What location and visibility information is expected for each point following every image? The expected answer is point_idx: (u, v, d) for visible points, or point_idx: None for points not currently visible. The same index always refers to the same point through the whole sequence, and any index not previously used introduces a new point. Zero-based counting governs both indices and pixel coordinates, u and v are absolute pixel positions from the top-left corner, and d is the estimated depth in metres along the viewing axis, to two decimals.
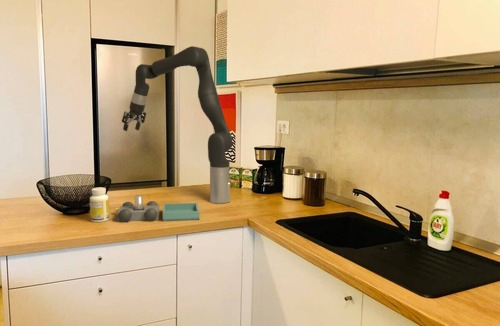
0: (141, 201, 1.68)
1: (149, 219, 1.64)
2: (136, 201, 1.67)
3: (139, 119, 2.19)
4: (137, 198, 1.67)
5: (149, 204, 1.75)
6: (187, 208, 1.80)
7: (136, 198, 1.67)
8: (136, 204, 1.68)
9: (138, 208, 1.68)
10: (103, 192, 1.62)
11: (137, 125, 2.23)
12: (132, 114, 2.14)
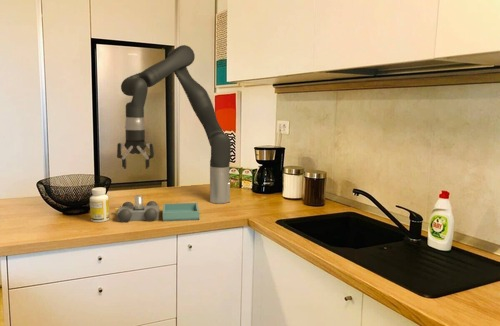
0: (141, 201, 1.68)
1: (149, 219, 1.64)
2: (136, 201, 1.67)
3: None
4: (137, 198, 1.67)
5: (149, 204, 1.75)
6: (187, 208, 1.80)
7: (136, 198, 1.67)
8: (136, 204, 1.68)
9: (138, 208, 1.68)
10: (103, 192, 1.62)
11: (125, 162, 1.67)
12: None
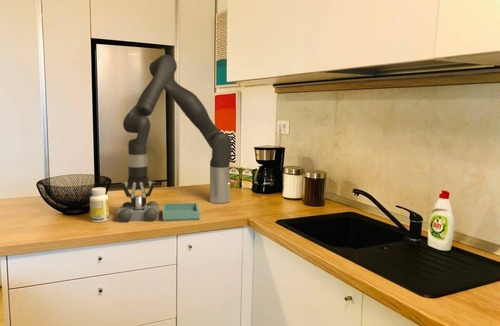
0: (141, 201, 1.68)
1: (149, 219, 1.64)
2: (136, 201, 1.67)
3: None
4: (137, 198, 1.67)
5: (149, 204, 1.75)
6: (187, 208, 1.80)
7: (136, 198, 1.67)
8: (136, 204, 1.68)
9: (138, 208, 1.68)
10: (103, 192, 1.62)
11: (134, 200, 1.68)
12: None
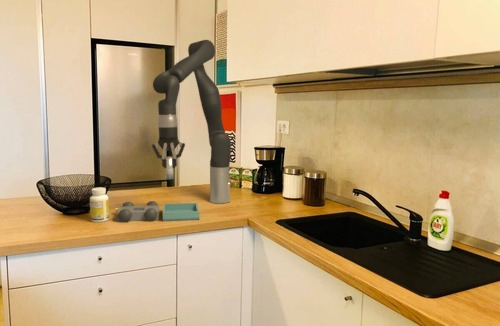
0: (172, 162, 1.68)
1: (149, 219, 1.64)
2: (167, 162, 1.67)
3: None
4: (168, 159, 1.67)
5: (149, 204, 1.75)
6: (187, 208, 1.80)
7: (167, 159, 1.67)
8: (167, 165, 1.68)
9: (169, 169, 1.68)
10: (103, 192, 1.62)
11: (165, 161, 1.69)
12: None
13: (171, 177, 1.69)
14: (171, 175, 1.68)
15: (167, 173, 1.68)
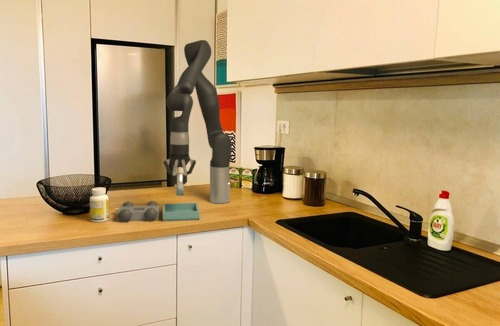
0: (182, 179, 1.70)
1: (149, 219, 1.64)
2: (178, 178, 1.69)
3: None
4: (179, 175, 1.69)
5: (149, 204, 1.75)
6: (187, 208, 1.80)
7: (178, 175, 1.69)
8: (177, 181, 1.70)
9: (179, 185, 1.70)
10: (103, 192, 1.62)
11: None
12: None
13: (181, 193, 1.70)
14: (181, 191, 1.70)
15: (177, 189, 1.70)
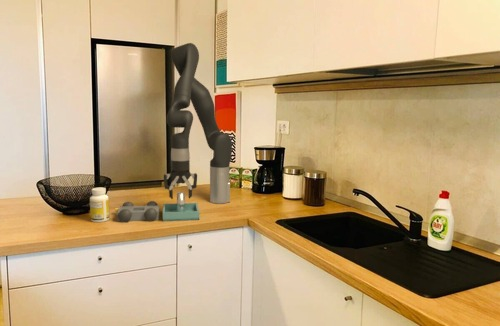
0: (183, 198, 1.71)
1: (149, 219, 1.64)
2: (179, 198, 1.70)
3: None
4: (180, 195, 1.70)
5: (149, 204, 1.75)
6: (187, 208, 1.80)
7: (179, 195, 1.70)
8: (178, 201, 1.71)
9: (180, 205, 1.71)
10: (103, 192, 1.62)
11: (172, 192, 1.71)
12: None
13: None
14: (182, 210, 1.71)
15: (178, 208, 1.71)
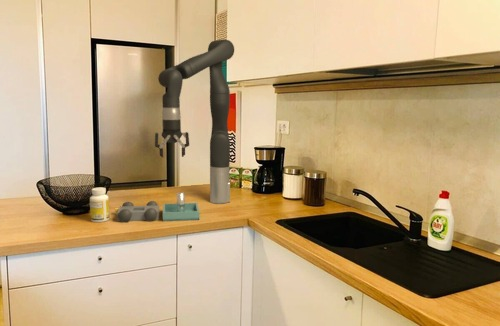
0: (183, 198, 1.71)
1: (149, 219, 1.64)
2: (179, 198, 1.70)
3: None
4: (180, 195, 1.70)
5: (149, 204, 1.75)
6: (187, 208, 1.80)
7: (179, 195, 1.70)
8: (178, 201, 1.71)
9: (180, 205, 1.71)
10: (103, 192, 1.62)
11: (162, 151, 1.73)
12: None
13: None
14: (182, 210, 1.71)
15: (178, 208, 1.71)
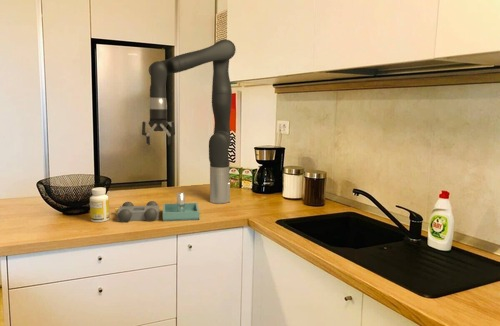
0: (183, 198, 1.71)
1: (149, 219, 1.64)
2: (179, 198, 1.70)
3: None
4: (180, 195, 1.70)
5: (149, 204, 1.75)
6: (187, 208, 1.80)
7: (179, 195, 1.70)
8: (179, 201, 1.71)
9: (180, 205, 1.71)
10: (103, 192, 1.62)
11: (149, 139, 1.82)
12: None
13: None
14: (182, 210, 1.71)
15: (178, 208, 1.71)
